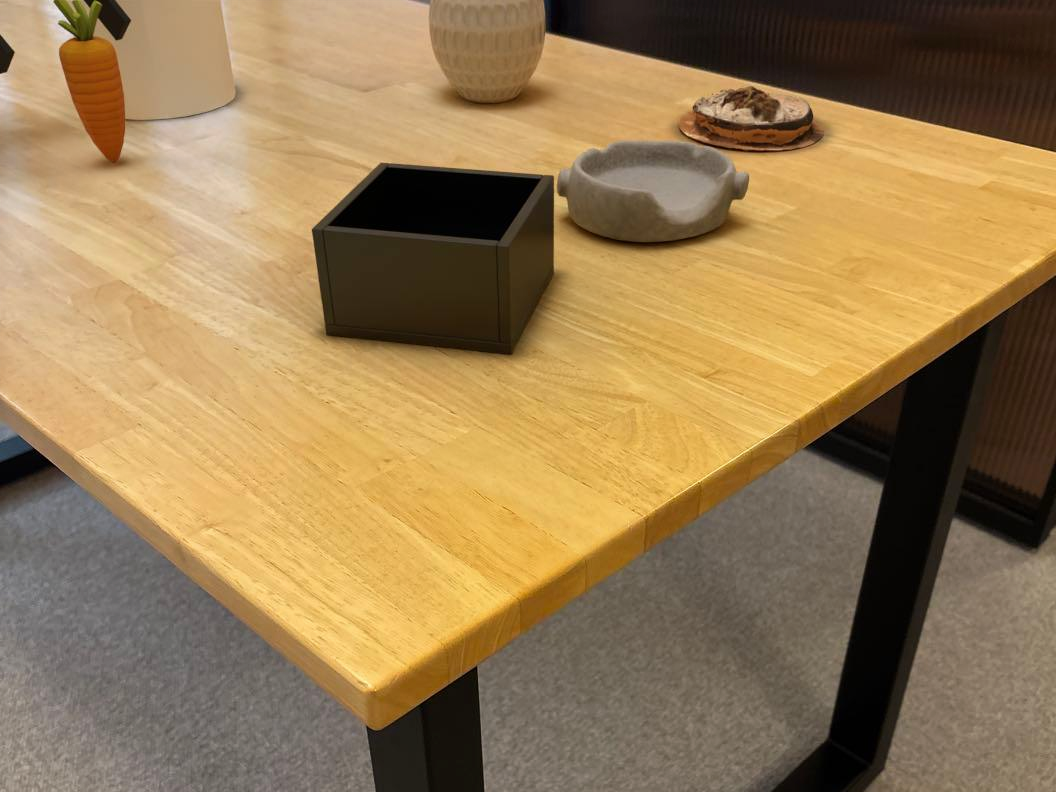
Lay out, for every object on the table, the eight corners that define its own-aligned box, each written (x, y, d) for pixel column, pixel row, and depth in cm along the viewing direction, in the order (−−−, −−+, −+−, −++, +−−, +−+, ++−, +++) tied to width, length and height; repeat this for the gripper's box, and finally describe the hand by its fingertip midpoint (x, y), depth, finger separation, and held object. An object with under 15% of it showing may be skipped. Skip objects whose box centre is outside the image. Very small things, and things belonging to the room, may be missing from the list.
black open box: (325, 334, 77) (311, 228, 72) (389, 259, 87) (380, 162, 83) (511, 354, 74) (508, 246, 70) (554, 274, 85) (554, 175, 80)
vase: (431, 113, 118) (419, -59, 108) (436, 81, 129) (426, -80, 118) (548, 111, 119) (547, -61, 109) (543, 79, 129) (543, -81, 119)
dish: (761, 218, 94) (768, 160, 91) (656, 264, 86) (659, 203, 83) (636, 177, 102) (638, 123, 99) (530, 216, 94) (529, 159, 91)
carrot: (151, 158, 107) (114, -9, 98) (116, 174, 103) (74, 2, 94) (112, 152, 109) (72, -13, 99) (76, 167, 105) (31, -2, 96)
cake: (849, 125, 114) (855, 83, 112) (775, 162, 105) (781, 118, 103) (729, 99, 122) (733, 60, 119) (652, 132, 113) (654, 90, 110)
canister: (206, 72, 132) (171, -118, 120) (258, 103, 122) (225, -102, 109) (73, 94, 125) (21, -106, 113) (115, 129, 115) (63, -88, 102)
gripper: (11, -135, 109) (153, 43, 112) (-234, -102, 92) (-58, 106, 95) (31, -197, 103) (180, -8, 107) (-224, -175, 86) (-38, 49, 90)
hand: (68, 46), depth 101 cm, fingers open, 13 cm apart
